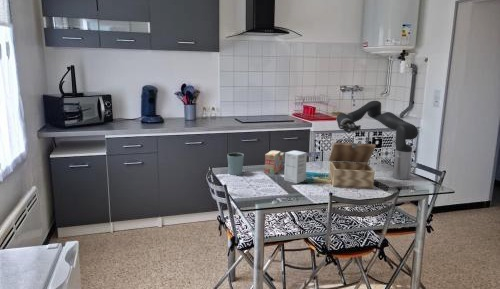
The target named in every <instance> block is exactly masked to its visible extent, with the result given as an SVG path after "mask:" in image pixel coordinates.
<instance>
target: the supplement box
mask: <svg viewBox="0 0 500 289" xmlns="http://www.w3.org/2000/svg"><path fill="white" fill-rule="evenodd" d="M307 156H308V153H307V152H304V151H300V150H290V151H287V152H284V172H283V173H284V175H283V179H284V181H285V182H290V183H293V184H299V183H302V182H305V181H306V177H307V176H306V175H307V174H306V173H307V158H308V157H307ZM304 180H305V181H304Z"/></svg>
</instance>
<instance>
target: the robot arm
mask: <svg viewBox="0 0 500 289" xmlns="http://www.w3.org/2000/svg"><path fill="white" fill-rule="evenodd" d="M366 114H367V116H368V117H369V118H371V119H374V120H376V121H377V122H379V123H380V124H382V125H383V126H385V127H386V128H388V129H390V130H393V131H395V142H394V144H395V151H394V152H395V153H394V160H393V161H394V162H393V170H392V177H393V179H397V180H402V181H403V180H410V179H411V174H412V173H411V171H412V163H411V160H412V153H413V146H412V145H410V144H407V141H408V140H414V139H416V138H417V137H418V135H419V131H418V128H417V126H416V125H414V124H412V123H410V122H407V121H405V120H404V119H402V118H401V117H399V116H398V115H396V114H394V113H392V112H390V111H387V112H384V113H382V102H381V101H379V100H371V101H368V102H367V103H365V104H364V105H363V106H361V107H360V108H358V109H356V110H353V111H351V112H349V113H347V114H346V113H344V112H342V113H339V114H337V115H336V122H337V127H338V129H339V130H343V131H344V132H346V133H351V132H356V131H357V132H358V131H361V128H362V126H361V125H360V124H359V125H357V124H355V123H356V122H359V121H360V120H362V118H363V117H364V116H365V115H366Z"/></svg>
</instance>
